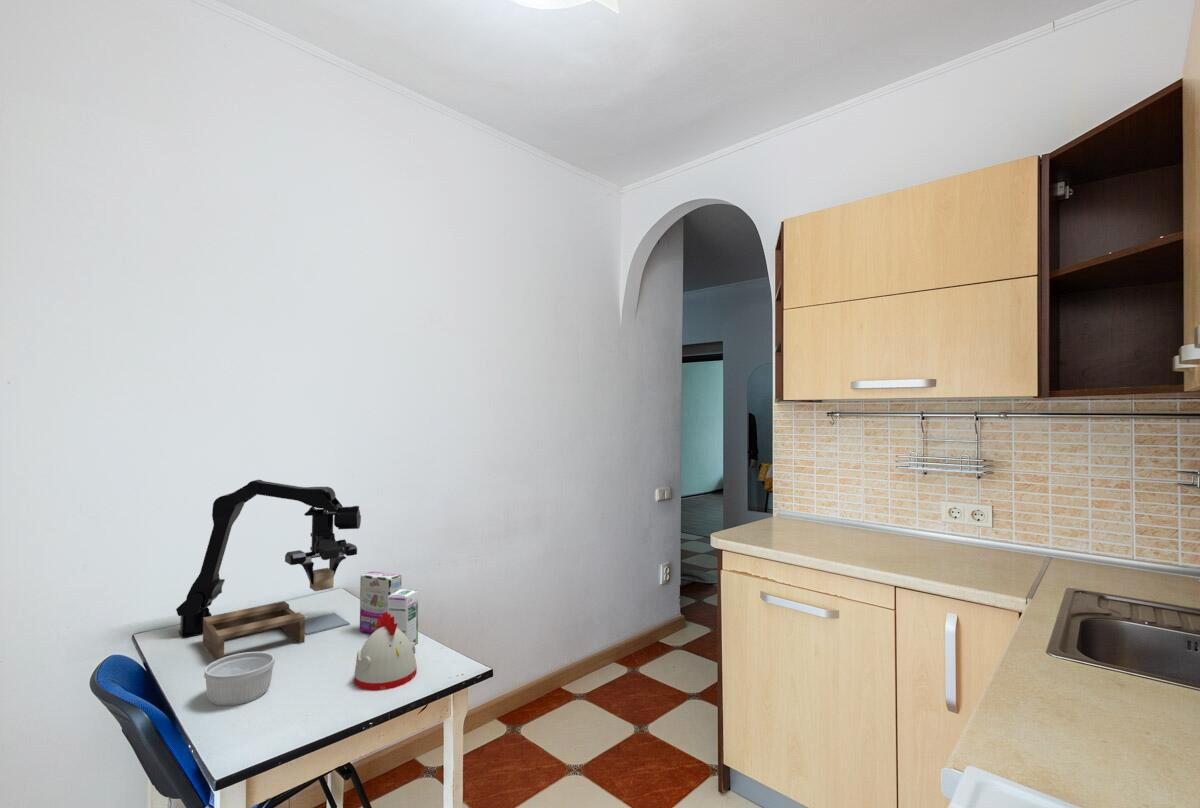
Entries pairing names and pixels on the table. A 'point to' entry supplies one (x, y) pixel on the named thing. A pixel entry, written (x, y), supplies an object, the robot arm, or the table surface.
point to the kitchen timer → (385, 658)
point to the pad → (324, 623)
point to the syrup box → (405, 612)
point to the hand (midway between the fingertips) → (321, 582)
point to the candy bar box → (375, 598)
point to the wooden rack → (250, 625)
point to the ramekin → (239, 678)
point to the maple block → (322, 579)
